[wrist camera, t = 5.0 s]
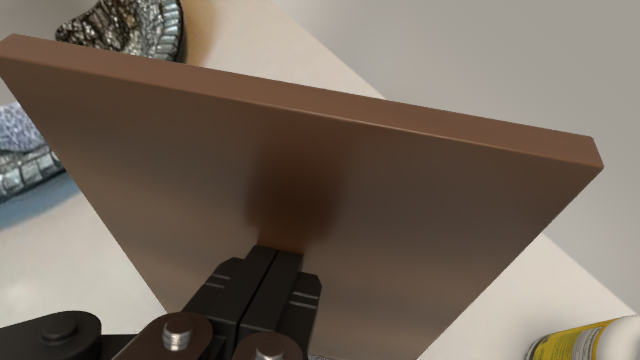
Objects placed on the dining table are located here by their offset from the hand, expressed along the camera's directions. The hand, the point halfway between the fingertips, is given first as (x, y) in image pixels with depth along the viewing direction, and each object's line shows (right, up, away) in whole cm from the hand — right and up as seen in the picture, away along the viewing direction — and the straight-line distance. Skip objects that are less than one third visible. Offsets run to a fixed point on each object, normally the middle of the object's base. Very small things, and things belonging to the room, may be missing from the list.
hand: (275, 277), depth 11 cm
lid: (0, 0, +2) cm, 2 cm away
